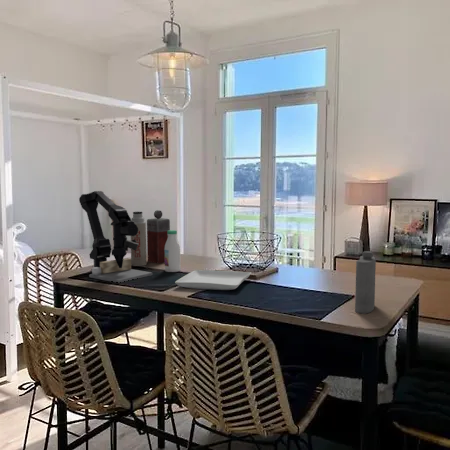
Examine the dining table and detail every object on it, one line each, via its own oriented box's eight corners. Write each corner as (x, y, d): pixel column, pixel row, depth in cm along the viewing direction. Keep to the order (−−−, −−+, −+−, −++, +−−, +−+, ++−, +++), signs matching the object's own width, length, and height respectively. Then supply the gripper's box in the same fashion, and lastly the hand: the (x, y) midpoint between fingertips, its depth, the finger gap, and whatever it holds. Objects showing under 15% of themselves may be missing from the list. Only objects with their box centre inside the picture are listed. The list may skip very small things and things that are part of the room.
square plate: (252, 279, 214) (252, 271, 214) (237, 294, 188) (237, 284, 188) (195, 276, 221) (195, 268, 221) (174, 290, 195) (173, 280, 195)
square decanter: (157, 258, 267) (156, 209, 264) (170, 261, 259) (169, 210, 256) (144, 261, 260) (143, 210, 257) (158, 263, 253) (157, 211, 250)
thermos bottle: (142, 266, 245) (141, 212, 242) (128, 265, 247) (127, 212, 244) (149, 263, 252) (148, 211, 250) (135, 262, 255) (134, 211, 252)
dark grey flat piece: (87, 276, 220) (86, 265, 219) (120, 269, 236) (120, 259, 235) (118, 282, 207) (118, 271, 206) (152, 275, 223) (152, 264, 222)
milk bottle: (181, 269, 236) (181, 229, 234) (178, 272, 229) (178, 231, 227) (166, 269, 237) (166, 229, 235) (163, 272, 229) (162, 231, 227)
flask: (371, 314, 158) (373, 255, 156) (354, 312, 160) (355, 254, 158) (376, 303, 172) (377, 249, 170) (359, 302, 174) (361, 248, 172)
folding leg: (103, 273, 220) (102, 262, 219) (100, 272, 222) (99, 262, 221) (131, 269, 230) (131, 259, 229) (128, 268, 232) (127, 258, 231)
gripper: (136, 236, 214) (137, 270, 215) (137, 233, 232) (138, 264, 233) (111, 237, 212) (112, 271, 213) (114, 233, 231) (115, 265, 232)
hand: (120, 268), depth 223 cm, fingers closed
